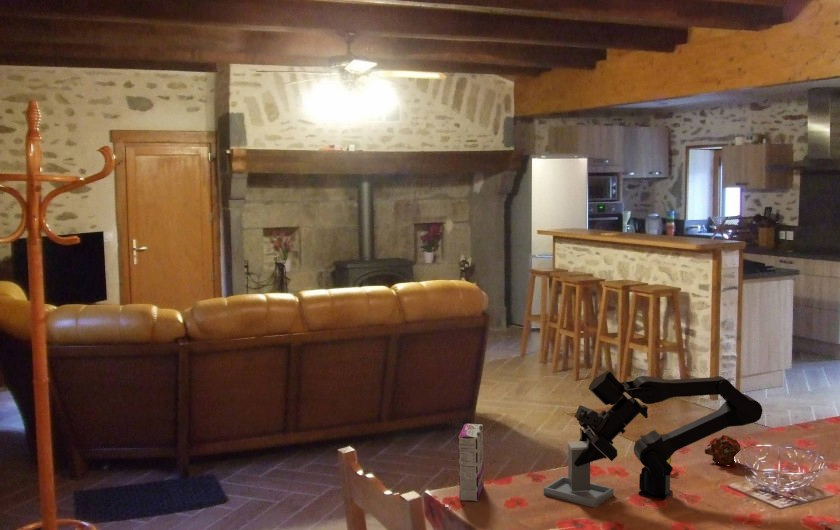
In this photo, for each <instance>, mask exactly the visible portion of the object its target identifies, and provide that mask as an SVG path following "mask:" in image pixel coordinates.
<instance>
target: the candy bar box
mask: <svg viewBox="0 0 840 530" xmlns="http://www.w3.org/2000/svg"><path fill="white" fill-rule="evenodd" d="M483 427H484V425H483V424H481V423H480V424H479V423H464V424H463V427H462V429H461V431H460V433H459V435H458V436H457V437H458V439H457V440H458V470H459V471H458V477H459V478H458V479H459V483H458V484H459V501H463V502H476V503H477V502H479V500H480V497H481V494H482V491H483V488H484V487H485V483H484V482H485V481H484V478H485V477H484V433H483V432H484V430H483Z"/></svg>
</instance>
